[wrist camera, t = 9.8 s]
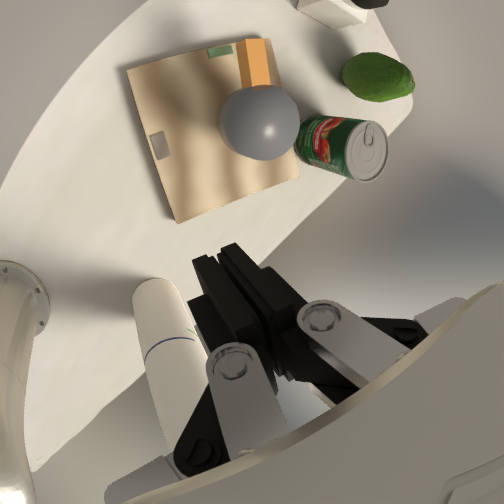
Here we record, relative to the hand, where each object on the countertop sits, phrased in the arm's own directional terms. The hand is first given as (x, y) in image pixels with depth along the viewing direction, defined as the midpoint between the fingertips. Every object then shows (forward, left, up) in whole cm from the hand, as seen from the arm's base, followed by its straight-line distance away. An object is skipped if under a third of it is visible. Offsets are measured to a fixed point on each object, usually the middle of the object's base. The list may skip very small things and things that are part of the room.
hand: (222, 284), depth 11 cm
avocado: (+33, +5, -27) cm, 43 cm away
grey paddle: (+12, +4, -21) cm, 25 cm away
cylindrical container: (-6, -18, -27) cm, 33 cm away
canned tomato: (+24, -4, -27) cm, 37 cm away
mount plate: (+10, +2, -27) cm, 29 cm away
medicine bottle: (+30, +18, -27) cm, 44 cm away
